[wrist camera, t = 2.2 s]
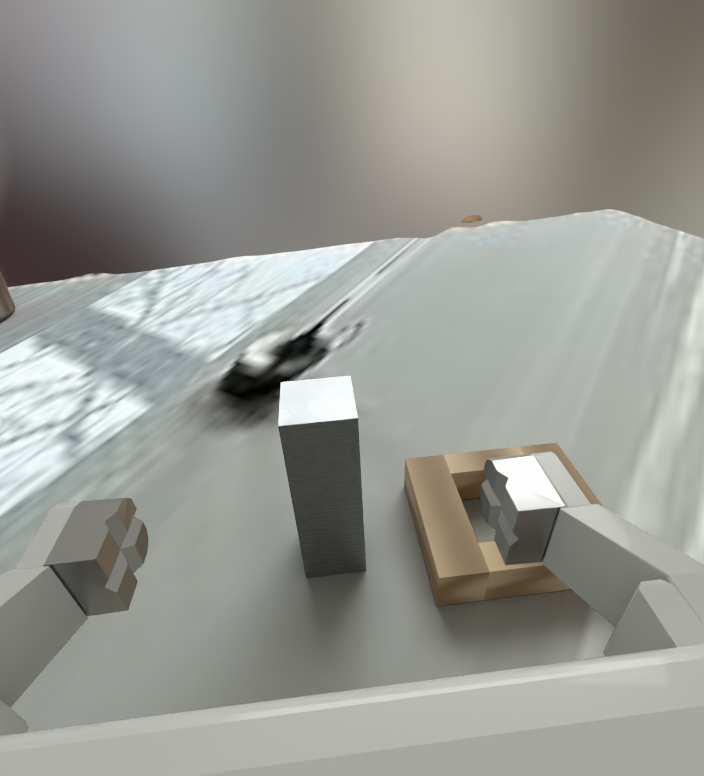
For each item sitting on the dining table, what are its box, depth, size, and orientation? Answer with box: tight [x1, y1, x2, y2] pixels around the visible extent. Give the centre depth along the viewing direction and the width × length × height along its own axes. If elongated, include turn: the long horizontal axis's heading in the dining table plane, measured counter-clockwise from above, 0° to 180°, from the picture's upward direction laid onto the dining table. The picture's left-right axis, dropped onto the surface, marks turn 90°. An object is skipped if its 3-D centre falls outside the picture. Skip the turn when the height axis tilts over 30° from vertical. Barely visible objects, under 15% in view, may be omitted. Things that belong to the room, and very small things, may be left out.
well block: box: [404, 443, 603, 606], centre depth 31 cm, size 12×10×3 cm
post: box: [278, 376, 366, 578], centre depth 27 cm, size 4×4×13 cm
